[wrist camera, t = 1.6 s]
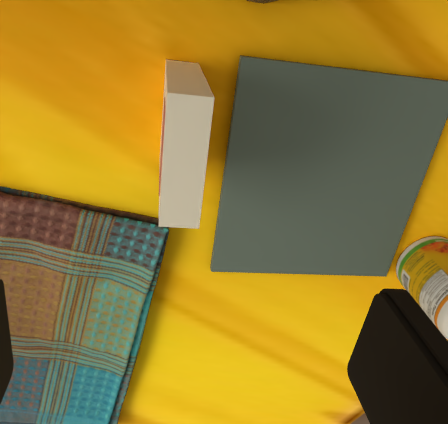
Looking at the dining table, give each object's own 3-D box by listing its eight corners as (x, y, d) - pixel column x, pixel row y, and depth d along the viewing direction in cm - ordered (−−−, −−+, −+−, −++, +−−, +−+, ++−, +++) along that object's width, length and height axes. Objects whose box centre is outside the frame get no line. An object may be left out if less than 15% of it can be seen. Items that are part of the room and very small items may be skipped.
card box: (165, 59, 25) (166, 92, 17) (199, 63, 25) (215, 97, 18) (158, 159, 28) (157, 226, 20) (189, 161, 28) (200, 228, 21)
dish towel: (-79, 402, 37) (-95, 429, 34) (-83, 163, 27) (-106, 179, 24) (117, 417, 41) (114, 442, 39) (176, 216, 31) (177, 234, 29)
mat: (240, 55, 25) (241, 56, 25) (455, 81, 28) (460, 83, 28) (210, 267, 33) (211, 271, 32) (382, 271, 36) (386, 276, 35)
